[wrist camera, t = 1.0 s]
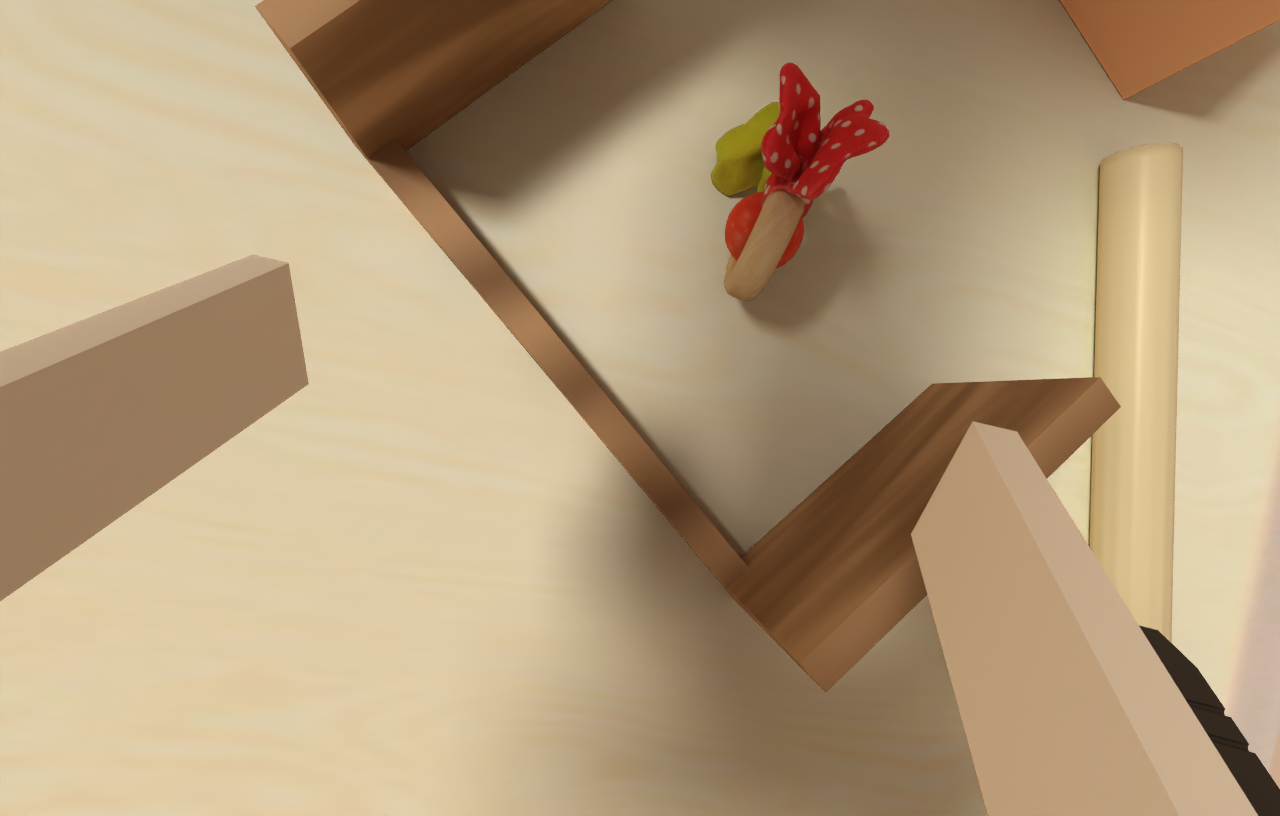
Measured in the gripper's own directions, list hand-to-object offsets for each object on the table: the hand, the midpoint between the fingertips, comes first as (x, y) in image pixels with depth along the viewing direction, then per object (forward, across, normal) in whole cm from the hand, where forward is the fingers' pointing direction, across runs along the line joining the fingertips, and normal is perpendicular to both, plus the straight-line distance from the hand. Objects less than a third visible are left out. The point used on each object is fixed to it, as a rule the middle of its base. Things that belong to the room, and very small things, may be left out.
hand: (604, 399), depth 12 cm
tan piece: (+25, +25, -9) cm, 37 cm away
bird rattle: (+22, +2, -2) cm, 23 cm away
